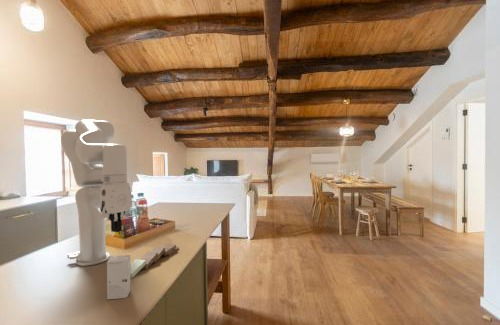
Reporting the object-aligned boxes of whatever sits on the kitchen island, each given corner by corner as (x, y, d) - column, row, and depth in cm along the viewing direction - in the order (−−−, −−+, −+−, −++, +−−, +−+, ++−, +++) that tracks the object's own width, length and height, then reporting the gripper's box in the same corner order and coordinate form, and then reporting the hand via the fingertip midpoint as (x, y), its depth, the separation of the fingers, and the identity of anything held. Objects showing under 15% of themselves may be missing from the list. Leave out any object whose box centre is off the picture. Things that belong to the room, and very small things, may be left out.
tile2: (154, 260, 106) (164, 247, 113) (144, 259, 107) (155, 246, 114) (155, 263, 106) (165, 250, 114) (145, 262, 108) (155, 249, 115)
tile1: (145, 266, 101) (157, 252, 108) (135, 264, 102) (148, 251, 109) (146, 269, 101) (158, 255, 108) (136, 268, 103) (148, 254, 110)
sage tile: (131, 273, 94) (145, 260, 102) (121, 272, 96) (136, 258, 103) (132, 277, 95) (146, 263, 102) (122, 276, 96) (136, 262, 103)
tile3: (165, 252, 113) (175, 244, 120) (156, 250, 114) (167, 243, 122) (165, 255, 113) (176, 248, 120) (156, 254, 114) (167, 247, 122)
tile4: (168, 253, 115) (178, 247, 122) (160, 252, 116) (170, 246, 124) (169, 257, 115) (178, 250, 122) (160, 256, 116) (170, 249, 124)
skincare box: (106, 300, 80) (105, 261, 80) (111, 292, 84) (110, 256, 84) (128, 297, 81) (127, 259, 81) (131, 290, 86) (130, 254, 85)
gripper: (105, 182, 82) (106, 239, 83) (139, 177, 96) (140, 226, 97) (87, 181, 84) (89, 236, 85) (123, 177, 98) (124, 224, 99)
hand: (116, 231), depth 91 cm, fingers closed
